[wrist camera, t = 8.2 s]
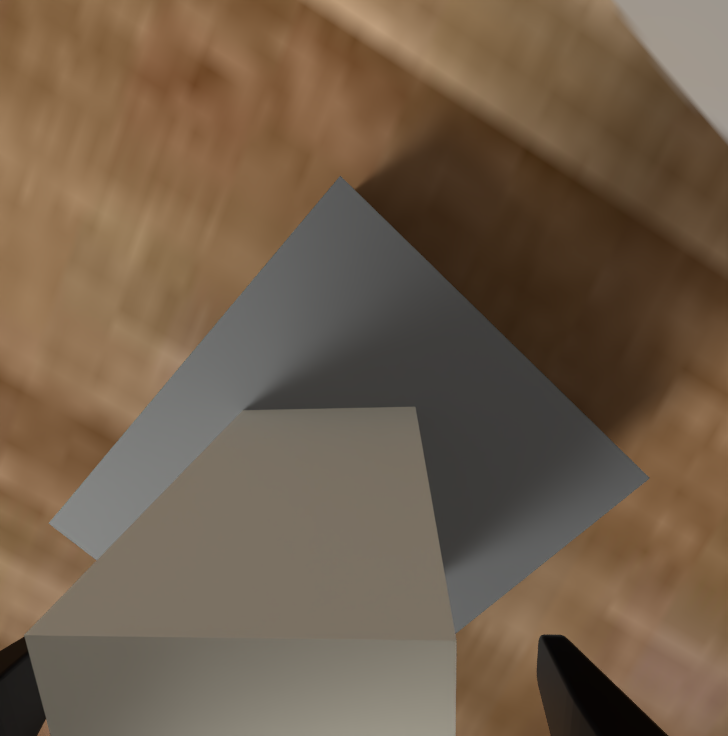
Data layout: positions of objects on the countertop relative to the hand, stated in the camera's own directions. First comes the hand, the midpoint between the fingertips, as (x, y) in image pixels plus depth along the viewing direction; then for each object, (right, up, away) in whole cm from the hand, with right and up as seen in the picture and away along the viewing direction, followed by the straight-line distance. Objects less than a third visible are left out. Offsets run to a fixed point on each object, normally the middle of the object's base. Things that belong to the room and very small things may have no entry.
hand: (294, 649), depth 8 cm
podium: (0, +2, +8) cm, 8 cm away
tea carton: (0, +1, +5) cm, 5 cm away
